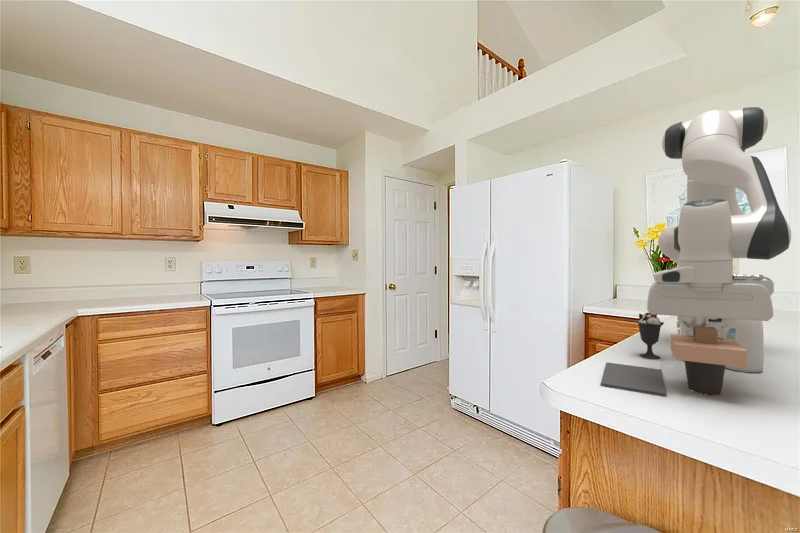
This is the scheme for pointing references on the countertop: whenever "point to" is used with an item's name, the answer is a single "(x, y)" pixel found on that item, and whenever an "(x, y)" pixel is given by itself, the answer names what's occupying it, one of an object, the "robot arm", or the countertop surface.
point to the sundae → (649, 332)
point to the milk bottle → (748, 343)
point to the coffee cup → (705, 377)
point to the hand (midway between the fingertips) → (704, 337)
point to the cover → (708, 348)
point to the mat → (634, 379)
